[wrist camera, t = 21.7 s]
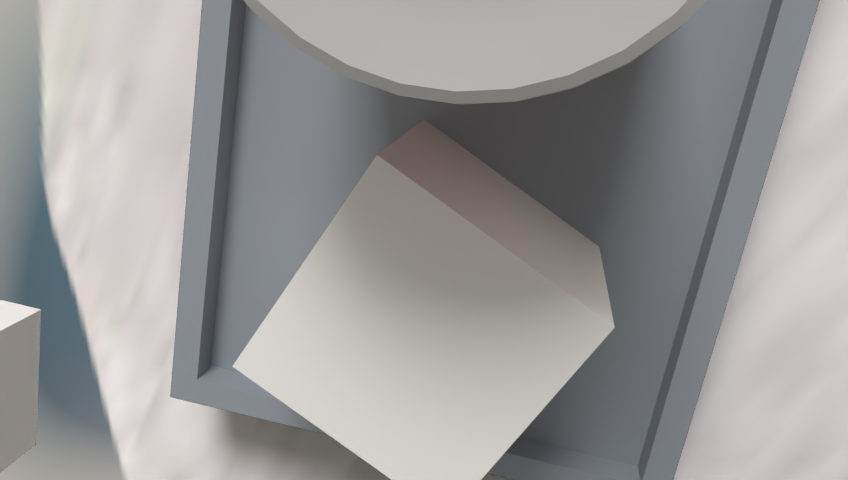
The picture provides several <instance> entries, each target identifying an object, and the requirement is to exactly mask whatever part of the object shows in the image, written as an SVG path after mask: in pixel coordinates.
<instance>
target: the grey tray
mask: <svg viewBox="0 0 848 480" xmlns="http://www.w3.org/2000/svg"><path fill="white" fill-rule="evenodd" d="M819 1H820V0H707V1H706V2H705V3H704V4H703V5H702V6H701V7H700V8H699V9H698V10H697V11H696V12H695V13H694V14H693V15H692V16H691V17H690V18H689V19H688V20H687V21H686V22H685V23H684V24H683V25H682V26H681V27H680V28H679V29H678V30H676V31H675V32H673V33H672V34H671V35H669V36H668V37H666V38H665V39H663V40H662V41H661V42H659V43H658V44H656V45H655V46H653V47H652V48H650V49H649V50H648V51H646V52H645V53H643V54H642V55H640V56H639V57H637V58H636V59H635V60H633V61H632V62H630V63H629V64H627V65H625V66H623V67H620V68H618V69H616V70H614V71H611V72H609V73H607V74H605V75H603V76H600V77H598V78H596V79H594V80H591V81H589V82H587V83H585V84H582V85H580V86H578V87H576V88H574V89H569V90H565V91H561V92H557V93H553V94H548V95H544V96H540V97H536V98H532V99H527V100H523V101H519V102H504V103H481V104H452V103H445V102H439V101H432V100H425V99H418V98H412V97H405V96H399V95H396V94H393V93H390V92H387V91H384V90H382V89H379V88H376V87H373V86H370V85H367V84H364V83H362V82H359V81H356V80H353V79H350V78H347V77H345V76H343V75H341V74H339V73H338V72H336V71H334V70H333V69H331V68H329V67H327V66H326V65H324V64H322V63H321V62H319V61H317V60H315V59H314V58H312V57H310V56H309V55H307V54H305V53H303V52H302V51H300V50H298V49H296V48H295V47H294V46H293V45H291V44H290V43H289V42H288V41H287V40H286V39H284V38H283V37H282V36H281V35H280V34H279V33H278V32H276V31H275V30H274V29H273V28H272V27H271V26H269V25H268V24H267V23H266V22H265V21H264V20H262V19H261V18H260V17H259V16H258V15H257V14H255V13H254V12H253V11H252V10H251V9H250V8H249V6H248V5H247V4H246V3H245V1H244V0H202V10H201V23H200V35H199V47H198V60H197V72H196V85H195V97H194V109H193V122H192V134H191V146H190V159H189V171H188V184H187V196H186V208H185V221H184V233H183V245H182V258H181V270H180V283H179V295H178V307H177V320H176V332H175V345H174V357H173V369H172V382H171V394H170V397H173V398H177V399H181V400H185V401H189V402H193V403H198V404H202V405H206V406H210V407H214V408H218V409H222V410H227V411H231V412H235V413H239V414H243V415H247V416H251V417H256V418H260V419H264V420H268V421H272V422H276V423H281V424H285V425H289V426H293V427H297V428H301V429H305V430H310V431H314V432H318V433H322V434H326V433H325V432H324V431H322V430H321V429H319V428H318V427H317V426H315V425H314V424H312V423H311V422H310V421H308V420H307V419H305V418H304V417H303V416H301V415H300V414H298V413H297V412H296V411H294V410H293V409H291V408H290V407H289V406H287V405H286V404H284V403H283V402H282V401H280V400H279V399H277V398H276V397H274V396H273V395H272V394H270V393H269V392H267V391H266V390H265V389H263V388H262V387H260V386H259V385H258V384H256V383H255V382H253V381H252V380H251V379H249V378H248V377H246V376H245V375H244V374H242V373H241V372H239V371H238V370H237V369H235V368H234V367H232V366H233V365H234V363H235V362H236V360H237V359H238V357H239V356H240V354H241V353H242V351H243V350H244V349H245V347H246V346H247V344H248V343H249V341H250V340H251V338H252V337H253V335H254V334H255V332H256V331H257V330H258V328H259V327H260V325H261V324H262V322H263V321H264V319H265V318H266V316H267V315H268V313H269V312H270V311H271V309H272V308H273V306H274V305H275V303H276V302H277V300H278V299H279V297H280V296H281V294H282V293H283V292H284V290H285V289H286V287H287V286H288V284H289V283H290V281H291V280H292V278H293V277H294V275H295V274H296V272H297V271H298V270H299V268H300V267H301V265H302V264H303V262H304V261H305V259H306V258H307V256H308V255H309V253H310V252H311V251H312V249H313V248H314V246H315V245H316V243H317V242H318V240H319V239H320V237H321V236H322V234H323V233H324V232H325V230H326V229H327V227H328V226H329V224H330V223H331V221H332V220H333V218H334V217H335V215H336V214H337V213H338V211H339V210H340V208H341V207H342V205H343V204H344V202H345V201H346V199H347V198H348V196H349V195H350V194H351V192H352V191H353V189H354V188H355V186H356V185H357V183H358V182H359V180H360V179H361V177H362V176H363V174H364V173H365V172H366V170H367V169H368V167H369V166H370V164H371V163H372V161H373V160H374V158H375V157H376V155H377V154H379V153H380V152H381V151H383V150H384V149H385V148H387V147H388V146H389V145H391V144H392V143H393V142H394V141H396V140H397V139H398V138H400V137H401V136H402V135H404V134H405V133H406V132H408V131H409V130H410V129H412V128H413V127H414V126H416V125H417V124H418V123H419V122H421V121H422V120H423V119H425V120H426V121H428V122H429V123H430V124H432V125H433V126H434V127H436V128H437V129H439V130H440V131H441V132H443V133H444V134H445V135H447V136H448V137H450V138H451V139H452V140H454V141H455V142H456V143H458V144H459V145H461V146H462V147H463V148H465V149H466V150H467V151H469V152H470V153H471V154H473V155H474V156H476V157H477V158H478V159H480V160H481V161H482V162H484V163H485V164H487V165H488V166H489V167H491V168H492V169H493V170H495V171H496V172H498V173H499V174H500V175H502V176H503V177H504V178H506V179H507V180H509V181H510V182H511V183H513V184H514V185H515V186H517V187H518V188H519V189H521V190H522V191H524V192H525V193H526V194H528V195H529V196H530V197H532V198H533V199H535V200H536V201H537V202H539V203H540V204H541V205H543V206H544V207H546V208H547V209H548V210H550V211H551V212H552V213H554V214H555V215H557V216H558V217H559V218H561V219H562V220H563V221H565V222H566V223H568V224H569V225H570V226H572V227H573V228H574V229H576V230H577V231H578V232H580V233H581V234H583V235H584V236H585V237H587V238H588V239H589V240H591V241H592V242H594V243H595V244H596V245H598V246H599V248H600V253H601V258H602V264H603V269H604V274H605V279H606V285H607V290H608V295H609V300H610V306H611V311H612V316H613V321H614V326H615V328H614V329H613V330H612V331H611V332H610V333H609V334H608V336H607V337H606V338H605V339H604V340H603V341H602V342H601V344H600V345H599V346H598V347H597V348H596V349H595V350H594V352H593V353H592V354H591V355H590V356H589V357H588V358H587V360H586V361H585V362H584V363H583V364H582V365H581V366H580V368H579V369H578V370H577V371H576V372H575V373H574V374H573V376H572V377H571V378H570V379H569V380H568V381H567V382H566V384H565V385H564V386H563V387H562V388H561V389H560V390H559V391H558V393H557V394H556V395H555V396H554V397H553V398H552V399H551V401H550V402H549V403H548V404H547V405H546V406H545V407H544V409H543V410H542V411H541V412H540V413H539V414H538V415H537V417H536V418H535V419H534V420H533V421H532V422H531V423H530V425H529V426H528V427H527V428H526V429H525V430H524V431H523V433H522V434H521V435H520V436H519V437H518V438H517V439H516V441H515V442H514V443H513V444H512V445H511V446H510V447H509V449H508V450H507V451H506V452H505V453H504V454H503V455H502V456H501V458H500V459H499V460H498V461H497V462H496V463H495V464H494V466H493V467H492V468H491V469H490V470H489V471H488V472H487V473H488V474H492V475H496V476H500V477H505V478H509V479H513V480H673V479H674V475H675V472H676V469H677V466H678V462H679V459H680V456H681V453H682V449H683V446H684V443H685V439H686V436H687V433H688V430H689V426H690V423H691V420H692V417H693V413H694V410H695V407H696V403H697V400H698V397H699V394H700V390H701V387H702V384H703V381H704V377H705V374H706V371H707V367H708V364H709V361H710V358H711V354H712V351H713V348H714V345H715V341H716V338H717V335H718V331H719V328H720V325H721V322H722V318H723V315H724V312H725V309H726V305H727V302H728V299H729V295H730V292H731V289H732V286H733V282H734V279H735V276H736V273H737V269H738V266H739V263H740V259H741V256H742V253H743V250H744V246H745V243H746V240H747V237H748V233H749V230H750V227H751V223H752V220H753V217H754V214H755V210H756V207H757V204H758V201H759V197H760V194H761V191H762V187H763V184H764V181H765V178H766V174H767V171H768V168H769V165H770V161H771V158H772V155H773V151H774V148H775V145H776V142H777V138H778V135H779V132H780V129H781V125H782V122H783V119H784V115H785V112H786V109H787V106H788V102H789V99H790V96H791V93H792V89H793V86H794V83H795V79H796V76H797V73H798V70H799V66H800V63H801V60H802V57H803V53H804V50H805V47H806V43H807V40H808V37H809V34H810V30H811V27H812V24H813V20H814V17H815V14H816V11H817V7H818V4H819ZM326 435H328V434H326Z"/></svg>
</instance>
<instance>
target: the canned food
mask: <svg viewBox="0 0 848 480" xmlns="http://www.w3.org/2000/svg"><path fill="white" fill-rule="evenodd" d="M244 1H245V3H246V4H247V5H248V6H249V8H250V9H251V10H252V11H253V12H254V13H255V14H257V15H258V16H259V17H260V18H261V19H262V20H264V21H265V22H266V23H267V24H268V25H269V26H271V27H272V28H273V29H274V30H275V31H276V32H278V33H279V34H280V35H281V36H282V37H283V38H284V39H286V40H287V41H288V42H289V43H290V44H291V45H293V46H294V47H295V48H296V49H298V50H300V51H302V52H303V53H305V54H307V55H309V56H310V57H312V58H314V59H315V60H317V61H319V62H321V63H322V64H324V65H326V66H327V67H329V68H331V69H333V70H334V71H336V72H338V73H339V74H341V75H343V76H345V77H347V78H350V79H353V80H356V81H359V82H362V83H364V84H367V85H370V86H373V87H376V88H379V89H382V90H384V91H387V92H390V93H393V94H396V95H399V96H405V97H412V98H418V99H425V100H432V101H439V102H445V103H452V104H481V103H504V102H519V101H523V100H527V99H532V98H536V97H540V96H544V95H548V94H553V93H557V92H561V91H565V90H569V89H574V88H576V87H578V86H580V85H582V84H585V83H587V82H589V81H591V80H594V79H596V78H598V77H600V76H603V75H605V74H607V73H609V72H611V71H614V70H616V69H618V68H620V67H623V66H625V65H627V64H629V63H630V62H632V61H633V60H635V59H636V58H637V57H639V56H640V55H642V54H643V53H645V52H646V51H648V50H649V49H650V48H652V47H653V46H655V45H656V44H658V43H659V42H661V41H662V40H663V39H665V38H666V37H668V36H669V35H671V34H672V33H673V32H675V31H676V30H678V29H679V28H680V27H681V26H682V25H683V24H684V23H685V22H686V21H687V20H688V19H689V18H690V17H691V16H692V15H693V14H694V13H695V12H696V11H697V10H698V9H699V8H700V7H701V6H702V5H703V4H704V3H705V2H706V1H707V0H244Z"/></svg>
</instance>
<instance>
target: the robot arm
mask: <svg viewBox="0 0 848 480" xmlns="http://www.w3.org/2000/svg"><path fill="white" fill-rule="evenodd" d="M40 319H41V310H40V309H36V308H32V307H28V306H24V305H20V304H15V303H11V302H7V301H3V300H2V301H0V472H1V471H3V470H4V469H5V468H7V467H8V466H9V465H11V464H12V463H13V462H14V461H16V460H17V459H18V458H19V457H21V456H22V455H23V454H25V453H26V452H27V451H28V450H30V449H31V448H32V447H34V446H35V445H36V429H37V402H38V401H37V400H38V375H39V373H38V372H39V346H40Z"/></svg>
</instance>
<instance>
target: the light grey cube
mask: <svg viewBox="0 0 848 480" xmlns="http://www.w3.org/2000/svg"><path fill="white" fill-rule="evenodd" d="M614 328H615V326H614V321H613V316H612V311H611V306H610V300H609V295H608V290H607V285H606V279H605V274H604V269H603V264H602V258H601V253H600V248H599V246H598V245H596V244H595V243H594V242H592V241H591V240H589V239H588V238H587V237H585V236H584V235H583V234H581V233H580V232H578V231H577V230H576V229H574V228H573V227H572V226H570V225H569V224H568V223H566V222H565V221H563V220H562V219H561V218H559V217H558V216H557V215H555V214H554V213H552V212H551V211H550V210H548V209H547V208H546V207H544V206H543V205H541V204H540V203H539V202H537V201H536V200H535V199H533V198H532V197H530V196H529V195H528V194H526V193H525V192H524V191H522V190H521V189H519V188H518V187H517V186H515V185H514V184H513V183H511V182H510V181H509V180H507V179H506V178H504V177H503V176H502V175H500V174H499V173H498V172H496V171H495V170H493V169H492V168H491V167H489V166H488V165H487V164H485V163H484V162H482V161H481V160H480V159H478V158H477V157H476V156H474V155H473V154H471V153H470V152H469V151H467V150H466V149H465V148H463V147H462V146H461V145H459V144H458V143H456V142H455V141H454V140H452V139H451V138H450V137H448V136H447V135H445V134H444V133H443V132H441V131H440V130H439V129H437V128H436V127H434V126H433V125H432V124H430V123H429V122H428V121H426V120H425V119H423V120H422V121H421V122H419V123H418V124H417V125H416V126H414V127H413V128H412V129H410V130H409V131H408V132H406V133H405V134H404V135H402V136H401V137H400V138H398V139H397V140H396V141H394V142H393V143H392V144H391V145H389V146H388V147H387V148H385V149H384V150H383V151H381V152H380V153H379V154H377V155H376V157H375V158H374V160H373V161H372V163H371V164H370V166H369V167H368V169H367V170H366V172H365V173H364V174H363V176H362V177H361V179H360V180H359V182H358V183H357V185H356V186H355V188H354V189H353V191H352V192H351V194H350V195H349V196H348V198H347V199H346V201H345V202H344V204H343V205H342V207H341V208H340V210H339V211H338V213H337V214H336V215H335V217H334V218H333V220H332V221H331V223H330V224H329V226H328V227H327V229H326V230H325V232H324V233H323V234H322V236H321V237H320V239H319V240H318V242H317V243H316V245H315V246H314V248H313V249H312V251H311V252H310V253H309V255H308V256H307V258H306V259H305V261H304V262H303V264H302V265H301V267H300V268H299V270H298V271H297V272H296V274H295V275H294V277H293V278H292V280H291V281H290V283H289V284H288V286H287V287H286V289H285V290H284V292H283V293H282V294H281V296H280V297H279V299H278V300H277V302H276V303H275V305H274V306H273V308H272V309H271V311H270V312H269V313H268V315H267V316H266V318H265V319H264V321H263V322H262V324H261V325H260V327H259V328H258V330H257V331H256V332H255V334H254V335H253V337H252V338H251V340H250V341H249V343H248V344H247V346H246V347H245V349H244V350H243V351H242V353H241V354H240V356H239V357H238V359H237V360H236V362H235V363H234V365H233V366H232V367H234V368H235V369H237V370H238V371H239V372H241V373H242V374H244V375H245V376H246V377H248V378H249V379H251V380H252V381H253V382H255V383H256V384H258V385H259V386H260V387H262V388H263V389H265V390H266V391H267V392H269V393H270V394H272V395H273V396H274V397H276V398H277V399H279V400H280V401H282V402H283V403H284V404H286V405H287V406H289V407H290V408H291V409H293V410H294V411H296V412H297V413H298V414H300V415H301V416H303V417H304V418H305V419H307V420H308V421H310V422H311V423H312V424H314V425H315V426H317V427H318V428H319V429H321V430H322V431H324V432H325V433H326V434H328V435H329V436H331V437H332V438H334V439H335V440H336V441H338V442H339V443H341V444H342V445H343V446H345V447H346V448H348V449H349V450H350V451H352V452H353V453H355V454H356V455H357V456H359V457H360V458H362V459H363V460H364V461H366V462H367V463H369V464H370V465H371V466H373V467H374V468H376V469H377V470H378V471H380V472H381V473H383V474H384V475H386V476H387V477H388V478H390V479H391V480H481V479H482V478H483V477H484V476H485V475H486V474H487V472H488V471H489V470H490V469H491V468H492V467H493V466H494V464H495V463H496V462H497V461H498V460H499V459H500V458H501V456H502V455H503V454H504V453H505V452H506V451H507V450H508V449H509V447H510V446H511V445H512V444H513V443H514V442H515V441H516V439H517V438H518V437H519V436H520V435H521V434H522V433H523V431H524V430H525V429H526V428H527V427H528V426H529V425H530V423H531V422H532V421H533V420H534V419H535V418H536V417H537V415H538V414H539V413H540V412H541V411H542V410H543V409H544V407H545V406H546V405H547V404H548V403H549V402H550V401H551V399H552V398H553V397H554V396H555V395H556V394H557V393H558V391H559V390H560V389H561V388H562V387H563V386H564V385H565V384H566V382H567V381H568V380H569V379H570V378H571V377H572V376H573V374H574V373H575V372H576V371H577V370H578V369H579V368H580V366H581V365H582V364H583V363H584V362H585V361H586V360H587V358H588V357H589V356H590V355H591V354H592V353H593V352H594V350H595V349H596V348H597V347H598V346H599V345H600V344H601V342H602V341H603V340H604V339H605V338H606V337H607V336H608V334H609V333H610V332H611V331H612V330H613V329H614Z"/></svg>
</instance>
